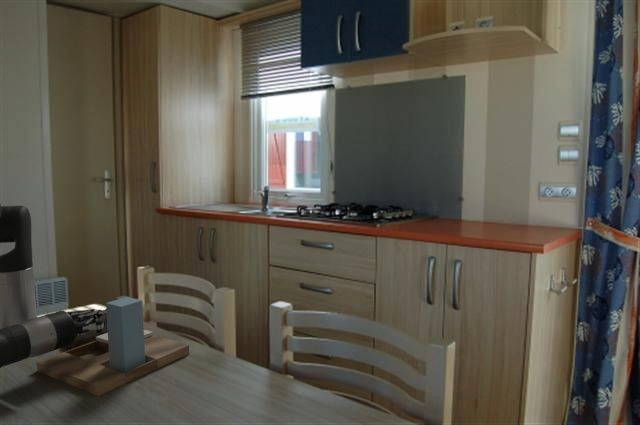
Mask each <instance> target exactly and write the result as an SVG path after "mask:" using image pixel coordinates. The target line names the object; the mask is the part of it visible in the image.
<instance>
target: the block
mask: <svg viewBox="0 0 640 425" xmlns="http://www.w3.org/2000/svg"><path fill="white" fill-rule="evenodd" d="M129 297H130V296H128V297H125V298H121V299H118V300H115V299H114V300H111V301H109V302H105V309H106V312H107V329H108V345H109V362H110V369H113V370H116V371H119V372H122V373H125V372H127V371H129V370H131V369H134V368H136V367H138V366H140V365H143V364H145V346H144V330H145V327H144V326H145V325H144V313H143V312H144V311H143V300H142V299H138V298H133V297H130V298H129Z"/></svg>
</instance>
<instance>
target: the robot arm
mask: <svg viewBox="0 0 640 425" xmlns="http://www.w3.org/2000/svg"><path fill="white" fill-rule="evenodd" d="M4 243H14V248H12V249H11V250H10V251H8V252H6V253H3V254H1V255H0V369H2V368H3V367H6V366H9V365H12V364H15V363H18V362H21V361H23V360H26V359H27V360H28V359H31V358H36V357H39V356H43V355H45V354H48V353H50V352H54V351H57V350H59V349H63V348H65V347H67V346H68V345H71V344H72V343H73V342H74V340H75V338H76V336H77V335H78V334H85V333H88V332H89V331H90V330H94V329H96V331H97V333H101V332H103V331H104V330H105V329H106V328H107V312H106V308H105V309H95V308H91V309H82V310H73V311H71V310H70V311H66V310H58V311H55V312H51V313H47V314H44V315H42V316H38V315H37V303H36V302H37V299H36V289H35V288H36V287H35V277H34V276H35V275H34V266H33V265H34V264H33V241H32V216H31V213H30V210H29V208H28V207H27V206H24V205H4V206H3V205H2V204H1V203H0V244H4Z"/></svg>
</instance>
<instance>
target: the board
mask: <svg viewBox="0 0 640 425" xmlns="http://www.w3.org/2000/svg"><path fill="white" fill-rule="evenodd" d="M144 346H145V364H143V365H140V366H138V367H136V368H134V369H131V370H129V371H127V372H125V373H122V372H119V371H116V370H113V369H110V362H109V345H108V344H107V343H104V342H101V341H98V340H96V341H93V342H90V343H88V344H85V345H82V346H79V347H77V348H74V349H71V350H70V349H68V350H66V351H63V352H59V353H58V354H54V355H52V356H49V357H46V358H43V359H40V360H39V361H36V371H37V373H38V372H39V373H41V374H43V375H46V376H48V377H51V378H53V379H56V380H58V381H60V382H63V383H65V384H66V385H70V386H73V387H75V388H77V389H79V390H82V391H84V392H87V393H89V394H92V395H95V396H96V397H99V396H101V395H104V394H106V393H108V392H110V391H112V390H114V389H117V388H119V387H121V386H123V385H126V384H127V383H130V382H131V381H134V380H136V379H138V378H140V377H142V376H145V375H146V374H149V373H150V372H152V371H155V370H157V369H159V368H161V367H164V366H165V365H168V364H170V363H172V362H175V361H177V360H178V359H180V358H183V357H185V356H188V355H190V345H189V344H187V343H183V342H179V341H176V340H173V339H170V338H166V337H162V336H158V335H154V334H153V335H152V336H149V337H147V338H144Z"/></svg>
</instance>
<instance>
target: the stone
mask: <svg viewBox="0 0 640 425" xmlns="http://www.w3.org/2000/svg"><path fill="white" fill-rule="evenodd" d="M105 333H108V329H107V328H106V329H105V330H104V331H103V332H101V333H97V331H96V329H94V330H90V331H89V332H88V333H85V334H78V335H77V336H76V338H75V340H74V342H73V343H72V344H71V345H68V346H66V347H67V348H68V350H71V349H74V348H77V347H79V346H82V345H85V344H88V343H90V342H93V341H96V337H97V336H100V335H102V334H105Z"/></svg>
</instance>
